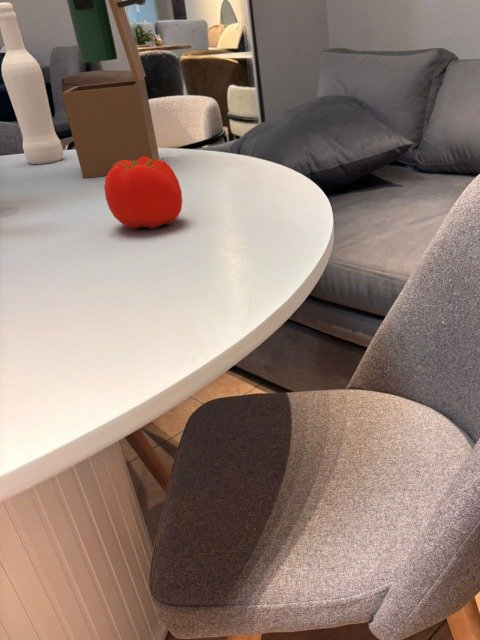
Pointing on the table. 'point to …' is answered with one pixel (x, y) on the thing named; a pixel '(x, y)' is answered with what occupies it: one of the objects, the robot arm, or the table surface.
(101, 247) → the table surface
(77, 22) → the bottle small
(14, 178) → the table surface
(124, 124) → the case
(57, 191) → the table surface
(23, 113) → the bottle
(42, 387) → the table surface
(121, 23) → the case lid
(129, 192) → the tomato
